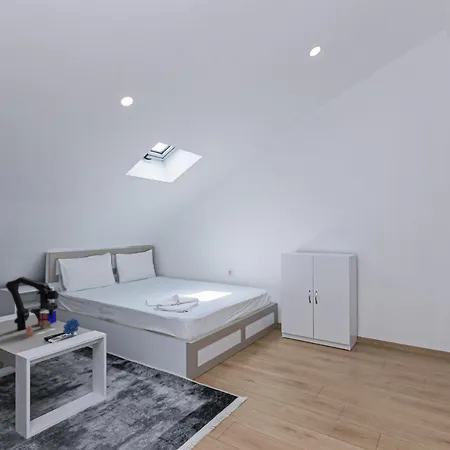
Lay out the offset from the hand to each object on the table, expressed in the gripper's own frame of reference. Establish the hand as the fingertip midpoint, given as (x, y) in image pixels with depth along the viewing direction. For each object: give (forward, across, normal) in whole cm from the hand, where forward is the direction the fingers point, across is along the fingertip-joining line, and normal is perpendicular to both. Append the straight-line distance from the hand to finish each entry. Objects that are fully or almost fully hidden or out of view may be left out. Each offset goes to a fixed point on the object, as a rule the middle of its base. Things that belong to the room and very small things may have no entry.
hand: (44, 319), depth 274 cm
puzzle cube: (+8, +10, +13) cm, 18 cm away
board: (+8, -10, -10) cm, 16 cm away
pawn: (+6, -18, -10) cm, 22 cm away
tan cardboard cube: (+7, 0, 0) cm, 7 cm away
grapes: (+8, -1, -33) cm, 34 cm away
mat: (+8, -2, -1) cm, 8 cm away
